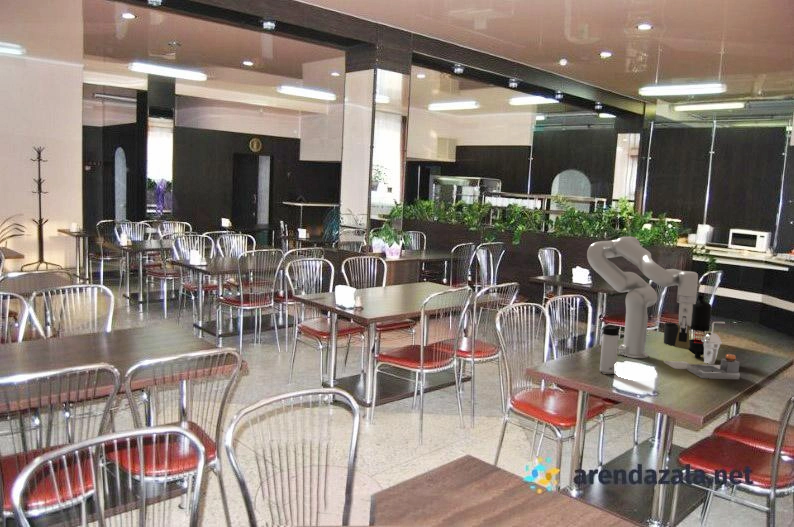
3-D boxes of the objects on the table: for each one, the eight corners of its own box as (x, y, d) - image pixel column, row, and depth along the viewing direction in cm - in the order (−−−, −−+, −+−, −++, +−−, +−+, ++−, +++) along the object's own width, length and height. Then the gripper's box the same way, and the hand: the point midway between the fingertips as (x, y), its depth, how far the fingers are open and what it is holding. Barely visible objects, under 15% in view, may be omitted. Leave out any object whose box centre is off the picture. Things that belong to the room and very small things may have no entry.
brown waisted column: (678, 347, 264) (680, 323, 263) (672, 344, 270) (674, 320, 269) (692, 348, 264) (694, 323, 263) (686, 344, 270) (688, 320, 269)
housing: (701, 378, 250) (703, 361, 249) (686, 369, 262) (688, 354, 261) (739, 379, 251) (741, 362, 250) (722, 370, 263) (724, 355, 262)
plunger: (727, 369, 252) (729, 356, 251) (722, 367, 256) (724, 353, 255) (736, 369, 252) (737, 356, 251) (731, 367, 256) (732, 354, 255)
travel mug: (614, 376, 248) (618, 328, 246) (597, 373, 252) (601, 326, 249) (617, 372, 253) (621, 326, 251) (601, 369, 257) (605, 323, 254)
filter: (705, 361, 276) (712, 297, 273) (684, 357, 282) (690, 294, 278) (711, 355, 287) (717, 293, 284) (690, 352, 293) (696, 291, 289)
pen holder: (665, 345, 305) (667, 326, 303) (660, 341, 314) (662, 322, 313) (685, 347, 303) (687, 327, 302) (679, 342, 312) (681, 323, 311)
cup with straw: (711, 360, 280) (715, 317, 277) (724, 365, 271) (729, 322, 269) (694, 360, 278) (699, 317, 276) (708, 365, 270) (712, 322, 267)
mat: (674, 368, 263) (674, 367, 263) (663, 362, 273) (663, 360, 273) (696, 369, 263) (696, 368, 263) (685, 362, 273) (685, 361, 273)
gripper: (695, 303, 255) (691, 345, 257) (696, 297, 270) (692, 338, 272) (675, 301, 259) (672, 343, 261) (678, 296, 273) (674, 335, 275)
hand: (682, 340), depth 266 cm, fingers closed on brown waisted column, 3 cm apart
